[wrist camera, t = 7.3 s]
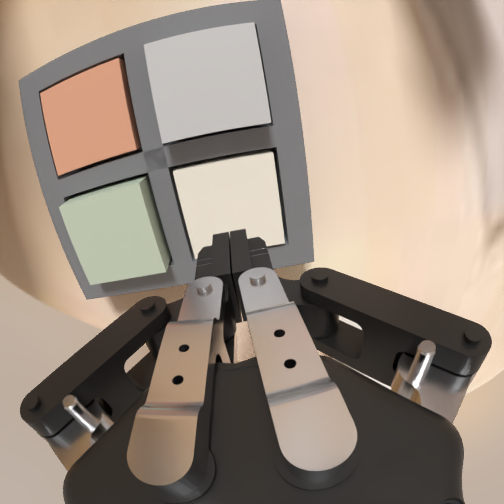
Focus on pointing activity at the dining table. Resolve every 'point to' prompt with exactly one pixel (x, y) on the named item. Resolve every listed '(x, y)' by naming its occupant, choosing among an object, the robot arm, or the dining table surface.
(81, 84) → the key terracotta
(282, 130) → the keypad
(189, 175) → the key cream
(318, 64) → the dining table surface
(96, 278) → the key sage
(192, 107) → the key grey
